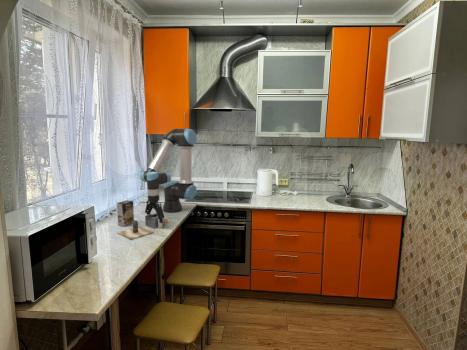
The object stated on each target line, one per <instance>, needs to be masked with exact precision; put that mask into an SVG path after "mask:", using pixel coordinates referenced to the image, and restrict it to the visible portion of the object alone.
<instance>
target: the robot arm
mask: <svg viewBox="0 0 467 350" xmlns="http://www.w3.org/2000/svg"><path fill="white" fill-rule="evenodd" d="M197 140H198V137H197V133H196V132H195V130H193V129H191V128H174V129H171V130H170V131H168V132H167V133H166V135H165V136H164V137H163V138H162V139H161V145H160V146H159V147H158V150H157V151H156V153H155V155H154V157H152V160H151V162H150V164H149V165H148V167H147V169H146V170H143V171H142V172H141V173H140V175H139V178H140V180H141V181H142V182H145V183H146V185H147V189H146V190H147V200H146V204H145V208H144V209H145V210H144V213H145V214H146V216H147V215H151V214H152V211H153V209H154V210H155V213H157V215H158V217H159V218H158V227H157V228H158V229H162V228H163V226H162V218H164V219H165V214H164V213H178V212H181V211H182V210H183V207H182V204H181V200H185V201H187V200H190V201H191V200H192V199H194V198H195V196H196V195H197V186H196V185H194V181H193V180H192V149H193V148H194V145H195V144H196V143H197ZM175 145H177V147H178V148H179V163H180V165H179V166H180V167H179V168H180V169H179V174H180V175H179V181H178V180H173V181H172V180H171V179H172V176H171V174H170V173H169V172H167V171H166V172H165V171H163V172H159V170H160V168H161V167H162V165H163V163H164V161H165V160H166V158H167V156H168V155H169V152H170V151H171V149H172V148H174V147H175ZM160 185H163V193H164V195H163V197H164V201H163V202H164V203H163V207H162V203H159V201H160ZM180 199H181V200H180Z"/></svg>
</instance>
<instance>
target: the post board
mask: <svg viewBox="0 0 467 350" xmlns="http://www.w3.org/2000/svg"><path fill="white" fill-rule="evenodd" d="M151 234H154V231H153V230H151V229H148V228H146V227H143V226H142V225H141V226H140V225H139V221H138V220H134V221H133V224H132V228H129V229H126V230H125V229H124V230H122V231H118V232H117V235H120V236H122V237H124V238H126V239H128V240H130V241H132V240H135V239H139V238H143V237H146V236H149V235H151ZM142 236H143V237H142Z"/></svg>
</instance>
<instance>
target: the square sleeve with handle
mask: <svg viewBox="0 0 467 350" xmlns="http://www.w3.org/2000/svg"><path fill="white" fill-rule="evenodd" d="M150 214H151V215H147V214H146V215H145V216H144V218H145V219H144V222H145V226H146V227H148V228H151V229H153V230H154V229H157V228H158V218H159V217H158V215H157V213H156V212H155V213H150ZM167 223H169V220H168V218H165V217H164V218H162V227H164V226H165V224H167Z"/></svg>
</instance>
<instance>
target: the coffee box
mask: <svg viewBox="0 0 467 350" xmlns="http://www.w3.org/2000/svg"><path fill="white" fill-rule="evenodd" d="M134 212H135V211H134V201H133V200H124V201H123V200H122V201H120V202H116V213H117V226H119V227H128V226H132V225H133V221H135V213H134Z"/></svg>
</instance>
